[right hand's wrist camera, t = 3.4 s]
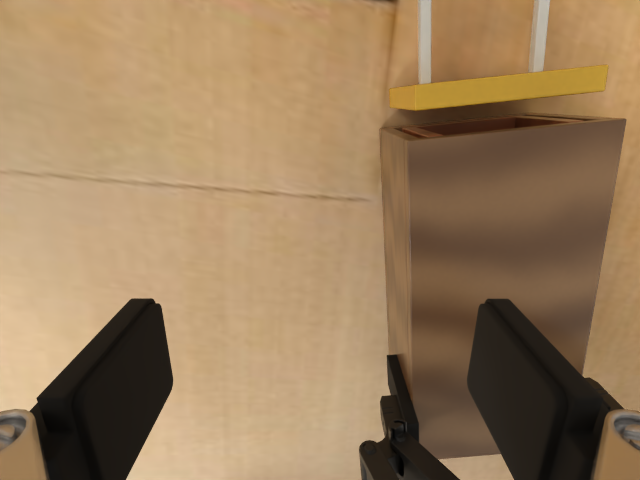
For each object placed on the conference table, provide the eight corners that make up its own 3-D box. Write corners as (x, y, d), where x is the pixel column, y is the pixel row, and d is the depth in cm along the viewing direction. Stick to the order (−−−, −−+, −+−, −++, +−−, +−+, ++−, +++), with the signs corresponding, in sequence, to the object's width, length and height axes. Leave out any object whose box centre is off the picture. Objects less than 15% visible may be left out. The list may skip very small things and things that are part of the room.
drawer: (385, -12, 23) (413, -55, 16) (542, -30, 23) (631, -80, 16) (397, 346, 32) (418, 409, 25) (509, 336, 32) (559, 397, 25)
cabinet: (379, 128, 26) (407, 140, 18) (531, 112, 26) (627, 118, 18) (389, 375, 34) (413, 461, 26) (508, 364, 34) (570, 448, 26)
